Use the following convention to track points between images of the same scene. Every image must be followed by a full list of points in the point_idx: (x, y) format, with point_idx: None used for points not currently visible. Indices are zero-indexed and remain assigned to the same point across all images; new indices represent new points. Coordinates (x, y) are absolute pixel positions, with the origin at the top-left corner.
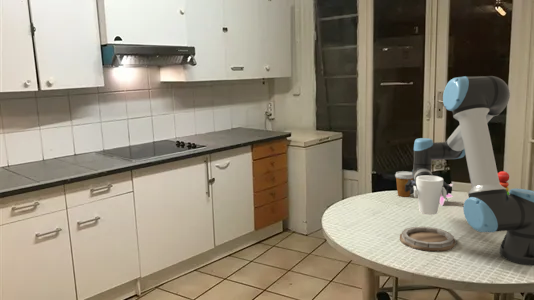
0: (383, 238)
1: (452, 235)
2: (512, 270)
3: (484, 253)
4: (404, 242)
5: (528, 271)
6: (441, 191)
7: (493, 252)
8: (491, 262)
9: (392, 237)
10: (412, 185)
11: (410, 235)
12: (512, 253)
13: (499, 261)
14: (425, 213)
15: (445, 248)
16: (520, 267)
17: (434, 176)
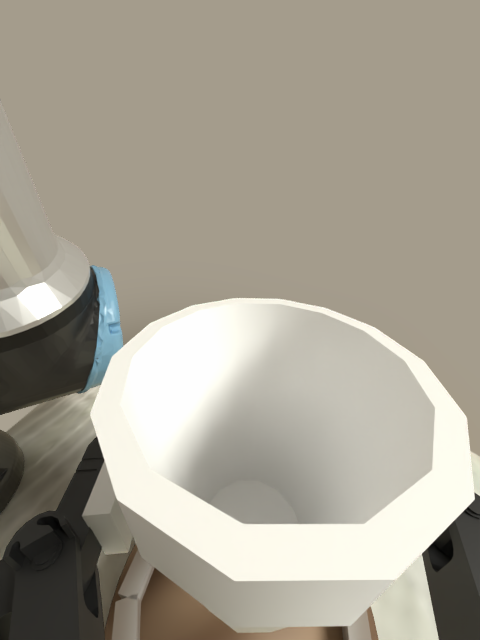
0: (422, 572)
1: (113, 628)
2: (68, 407)
3: (58, 503)
4: None
5: (33, 410)
6: (99, 625)
7: (14, 524)
8: (87, 437)
9: (400, 608)
10: (468, 511)
11: (325, 630)
12: (10, 440)
13: (58, 448)
14: (262, 483)
15: None
16: (32, 425)
17: (189, 492)
